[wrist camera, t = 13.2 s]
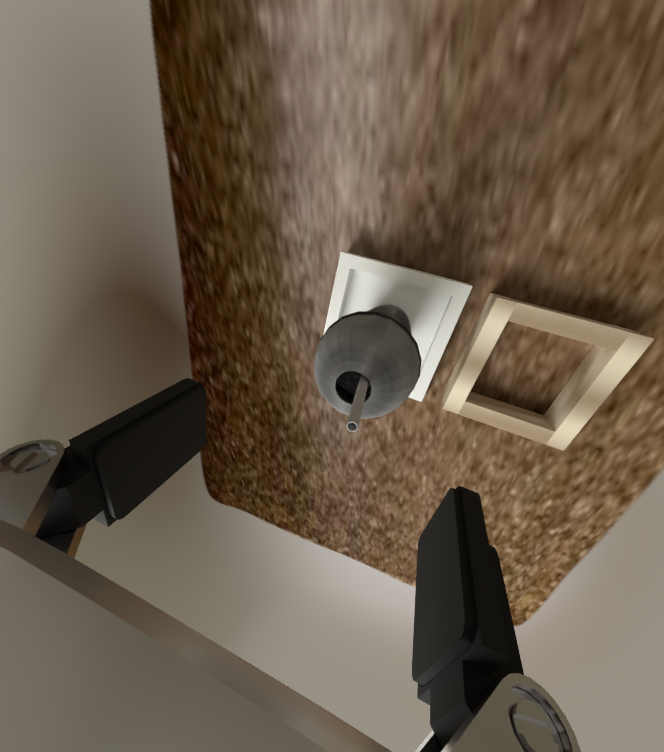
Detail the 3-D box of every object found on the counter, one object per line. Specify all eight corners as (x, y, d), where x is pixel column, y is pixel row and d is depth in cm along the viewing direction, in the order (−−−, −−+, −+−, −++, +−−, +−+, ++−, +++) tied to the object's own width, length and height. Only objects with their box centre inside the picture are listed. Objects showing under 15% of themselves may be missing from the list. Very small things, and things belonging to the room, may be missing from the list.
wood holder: (490, 292, 26) (497, 297, 23) (629, 329, 24) (654, 338, 21) (441, 395, 31) (442, 408, 28) (551, 432, 29) (563, 450, 26)
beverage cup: (342, 309, 30) (223, 389, 12) (406, 276, 27) (366, 319, 9) (371, 367, 31) (302, 509, 14) (434, 343, 28) (447, 486, 11)
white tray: (347, 252, 28) (340, 251, 26) (468, 283, 26) (472, 286, 24) (323, 358, 34) (316, 365, 32) (421, 391, 32) (421, 401, 29)
